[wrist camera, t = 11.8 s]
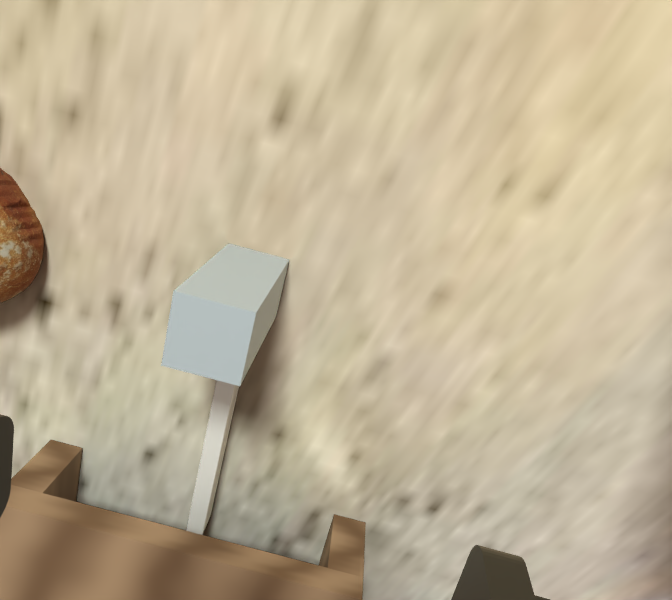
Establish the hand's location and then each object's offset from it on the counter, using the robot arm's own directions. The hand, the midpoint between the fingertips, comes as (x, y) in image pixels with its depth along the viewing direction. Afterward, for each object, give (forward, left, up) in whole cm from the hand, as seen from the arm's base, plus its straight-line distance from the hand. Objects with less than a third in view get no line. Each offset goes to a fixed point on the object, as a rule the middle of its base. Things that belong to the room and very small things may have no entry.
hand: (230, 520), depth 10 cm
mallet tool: (+5, +14, -27) cm, 31 cm away
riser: (+5, +26, -27) cm, 38 cm away
